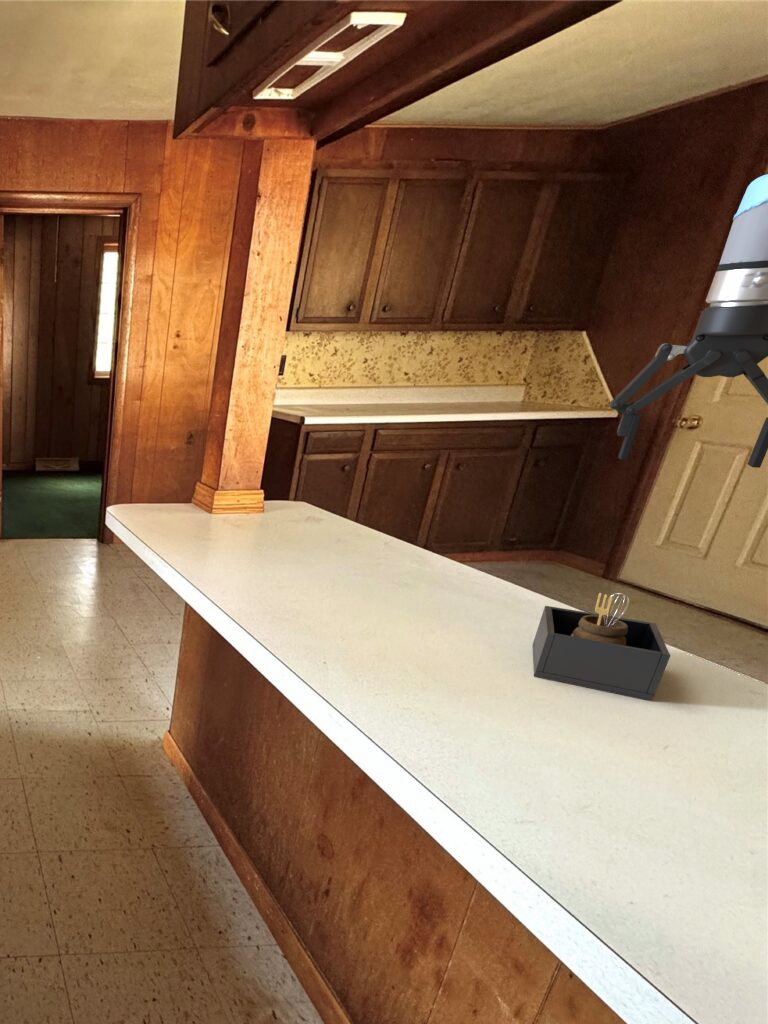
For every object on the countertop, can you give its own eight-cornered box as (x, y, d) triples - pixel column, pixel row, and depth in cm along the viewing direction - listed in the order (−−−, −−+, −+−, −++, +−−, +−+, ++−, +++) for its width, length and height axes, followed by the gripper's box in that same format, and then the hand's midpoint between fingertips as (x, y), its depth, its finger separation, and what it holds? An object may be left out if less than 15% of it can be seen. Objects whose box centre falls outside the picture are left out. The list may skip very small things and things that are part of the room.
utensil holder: (623, 667, 97) (652, 591, 92) (604, 678, 94) (633, 601, 90) (573, 652, 102) (599, 579, 97) (554, 662, 99) (579, 588, 94)
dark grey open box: (639, 665, 99) (656, 623, 97) (652, 701, 90) (670, 655, 88) (532, 645, 107) (545, 605, 104) (533, 676, 97) (547, 633, 95)
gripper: (621, 309, 94) (575, 459, 102) (904, 298, 79) (824, 474, 87) (615, 309, 99) (572, 451, 107) (879, 299, 85) (806, 464, 93)
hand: (685, 462), depth 97 cm, fingers open, 13 cm apart
